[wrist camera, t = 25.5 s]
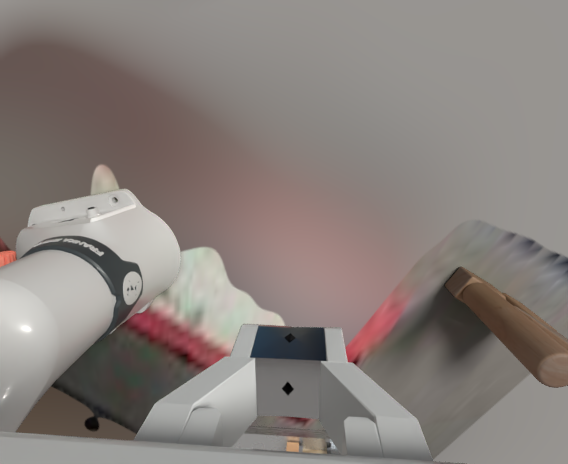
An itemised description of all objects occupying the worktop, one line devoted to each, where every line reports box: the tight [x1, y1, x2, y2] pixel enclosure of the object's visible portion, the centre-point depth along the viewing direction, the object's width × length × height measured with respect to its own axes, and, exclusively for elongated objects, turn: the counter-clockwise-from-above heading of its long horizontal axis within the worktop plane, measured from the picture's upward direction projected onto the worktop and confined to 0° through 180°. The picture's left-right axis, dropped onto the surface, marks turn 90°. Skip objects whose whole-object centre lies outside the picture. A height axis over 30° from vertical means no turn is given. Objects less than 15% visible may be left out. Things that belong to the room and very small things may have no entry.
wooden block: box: [445, 267, 568, 388], centre depth 36 cm, size 4×11×18 cm, turn 59°
